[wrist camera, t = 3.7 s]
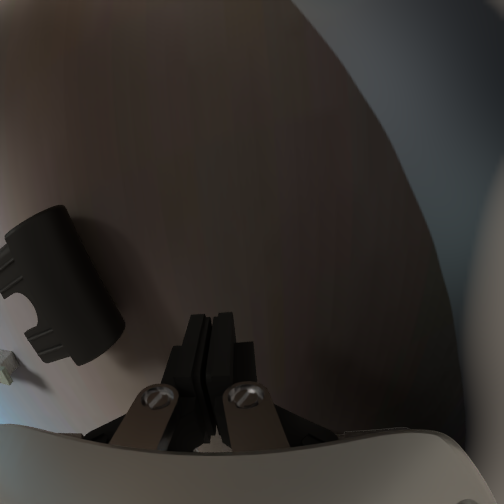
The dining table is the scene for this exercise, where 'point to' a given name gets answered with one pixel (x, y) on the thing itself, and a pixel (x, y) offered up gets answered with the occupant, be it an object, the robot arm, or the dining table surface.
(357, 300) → the dining table surface
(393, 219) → the dining table surface
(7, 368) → the mounting bracket
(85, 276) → the end cap
